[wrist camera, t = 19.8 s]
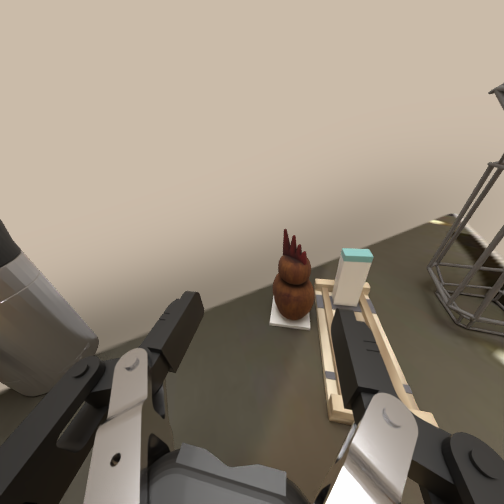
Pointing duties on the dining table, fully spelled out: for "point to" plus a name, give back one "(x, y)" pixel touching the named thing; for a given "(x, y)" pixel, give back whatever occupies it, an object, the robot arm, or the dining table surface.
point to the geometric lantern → (503, 96)
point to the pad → (283, 322)
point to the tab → (351, 276)
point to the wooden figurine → (293, 282)
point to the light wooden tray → (331, 379)
